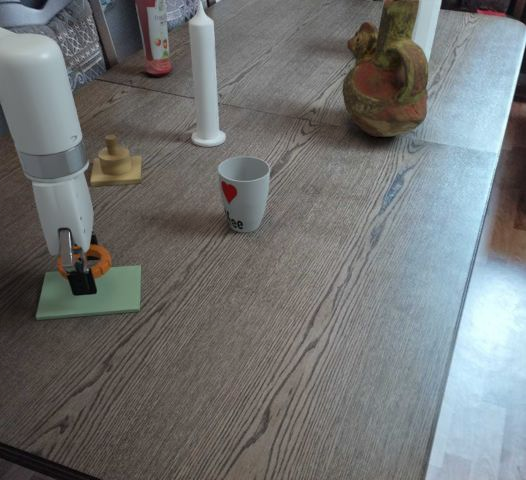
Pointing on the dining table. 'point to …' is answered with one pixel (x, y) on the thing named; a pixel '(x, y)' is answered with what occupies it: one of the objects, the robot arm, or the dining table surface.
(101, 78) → the dining table surface
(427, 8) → the container
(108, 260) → the ring
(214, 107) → the candle
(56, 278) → the mat
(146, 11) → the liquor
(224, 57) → the dining table surface
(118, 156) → the stand
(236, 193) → the cup
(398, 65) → the ceramic vessel
